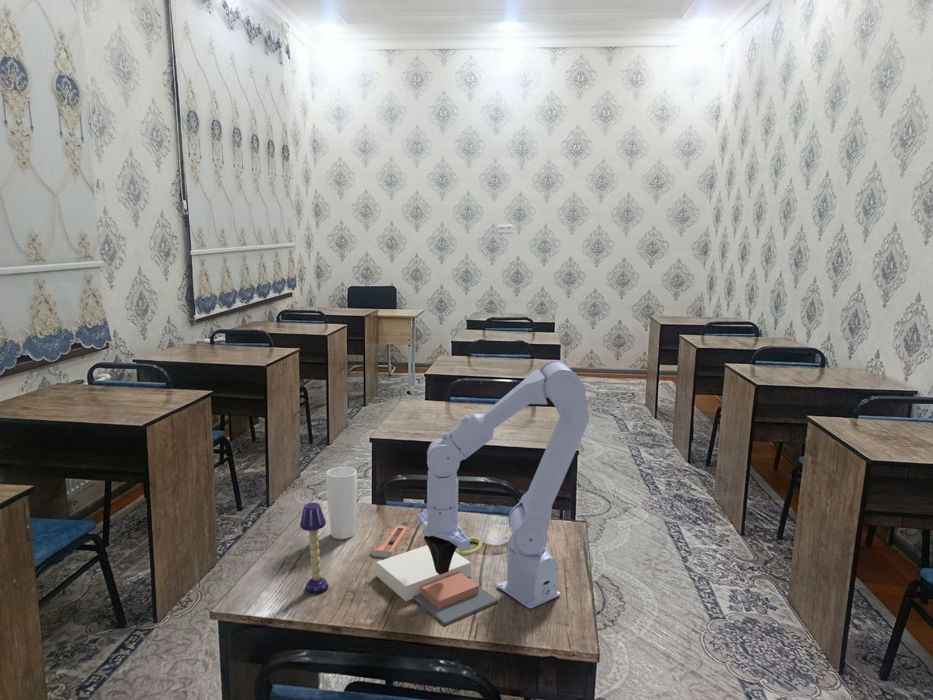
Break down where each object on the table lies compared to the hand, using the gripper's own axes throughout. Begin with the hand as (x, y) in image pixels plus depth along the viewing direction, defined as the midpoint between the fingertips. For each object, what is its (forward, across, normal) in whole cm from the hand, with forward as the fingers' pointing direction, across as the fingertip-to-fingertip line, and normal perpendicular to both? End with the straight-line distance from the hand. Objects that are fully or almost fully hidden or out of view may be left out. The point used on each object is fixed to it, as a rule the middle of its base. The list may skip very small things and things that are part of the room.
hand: (442, 571), depth 118 cm
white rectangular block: (+4, -6, 0) cm, 7 cm away
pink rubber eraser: (+3, +2, 0) cm, 4 cm away
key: (+4, -14, +14) cm, 20 cm away
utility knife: (+4, -24, +3) cm, 24 cm away
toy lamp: (+4, -15, -19) cm, 24 cm away
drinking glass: (+4, -32, -5) cm, 32 cm away
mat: (+4, +4, 0) cm, 6 cm away
